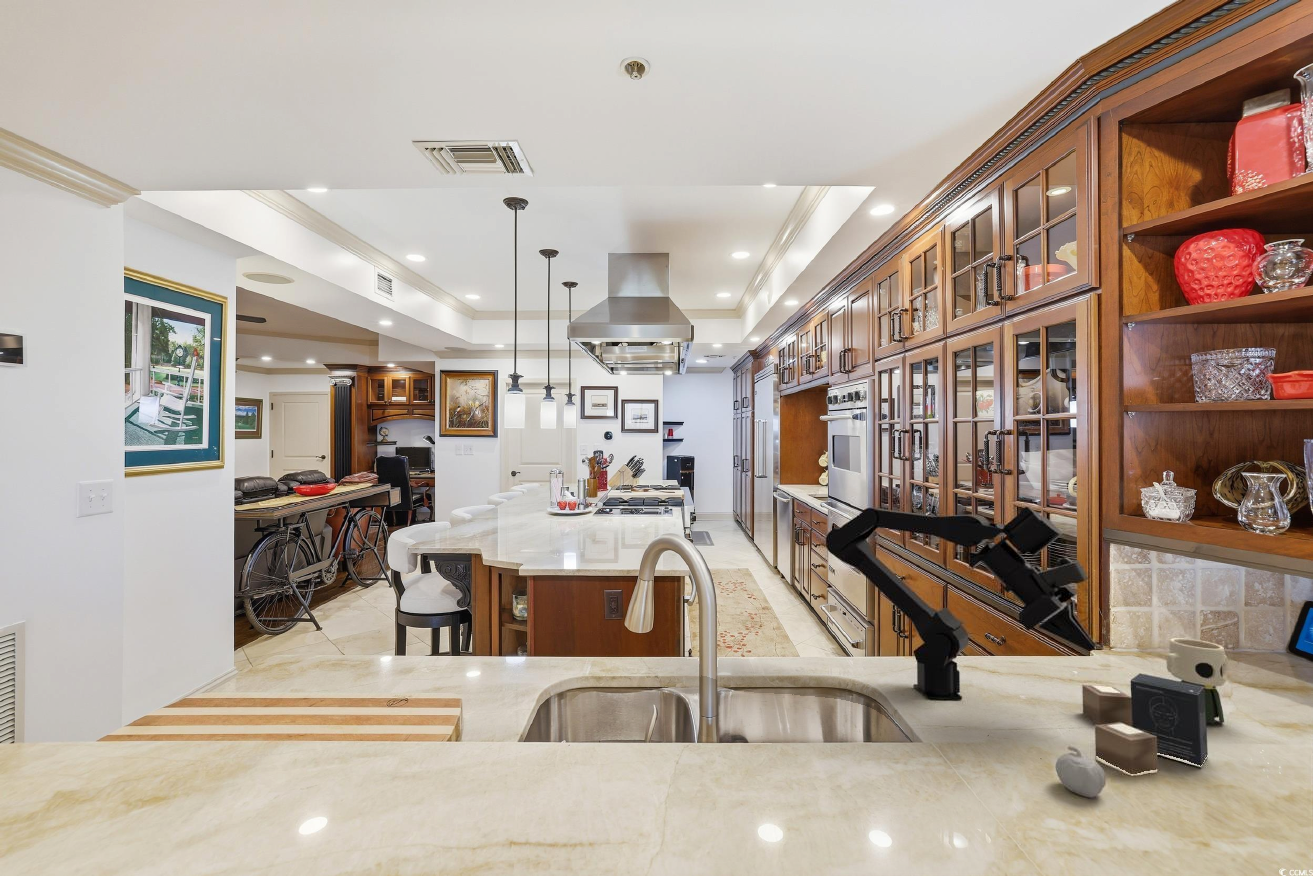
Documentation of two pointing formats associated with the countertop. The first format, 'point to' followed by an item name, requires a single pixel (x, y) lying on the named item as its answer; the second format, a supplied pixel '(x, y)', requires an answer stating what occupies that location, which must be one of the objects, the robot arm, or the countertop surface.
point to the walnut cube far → (1106, 705)
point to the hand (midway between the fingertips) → (1092, 648)
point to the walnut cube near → (1126, 747)
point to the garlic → (1080, 773)
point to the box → (1171, 716)
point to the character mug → (1200, 670)
